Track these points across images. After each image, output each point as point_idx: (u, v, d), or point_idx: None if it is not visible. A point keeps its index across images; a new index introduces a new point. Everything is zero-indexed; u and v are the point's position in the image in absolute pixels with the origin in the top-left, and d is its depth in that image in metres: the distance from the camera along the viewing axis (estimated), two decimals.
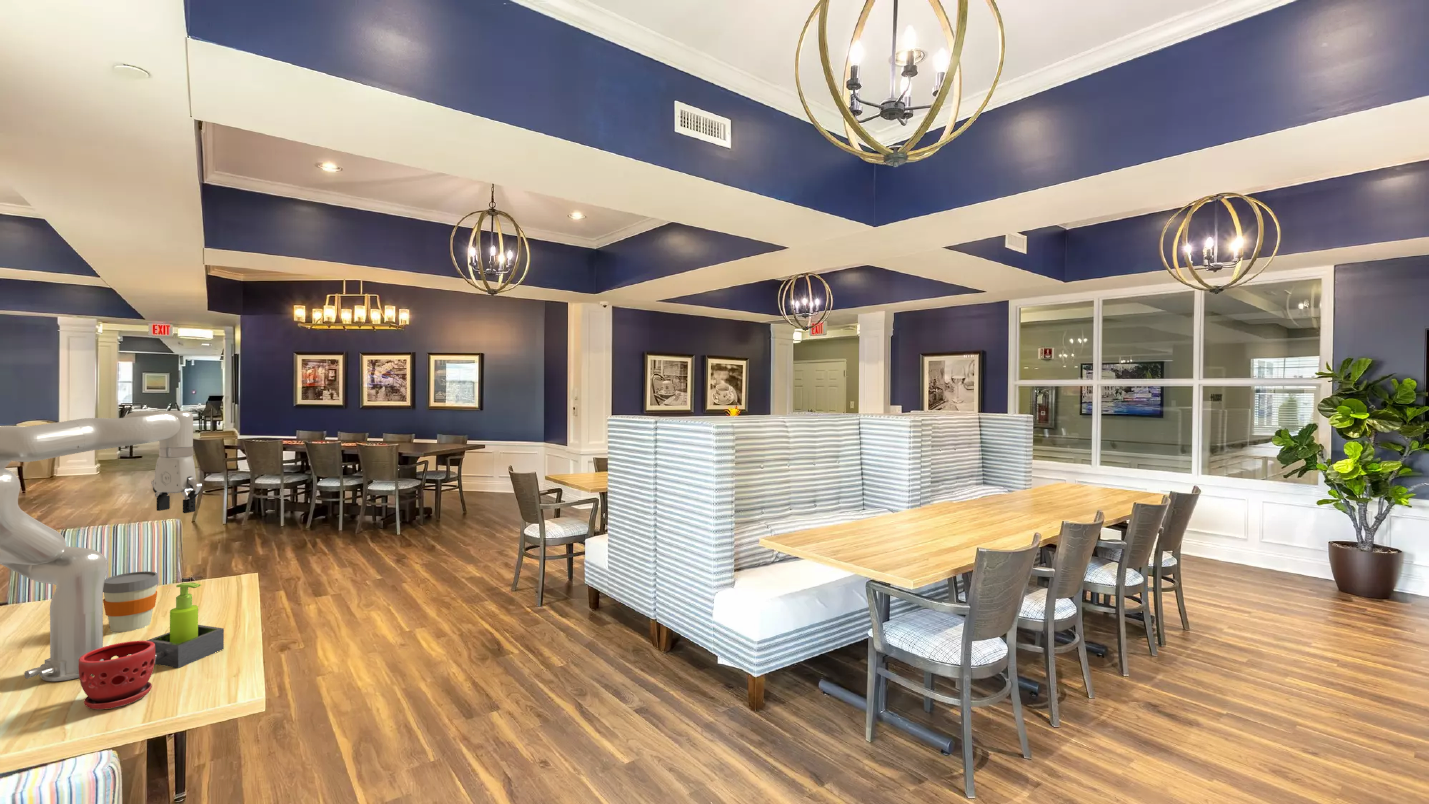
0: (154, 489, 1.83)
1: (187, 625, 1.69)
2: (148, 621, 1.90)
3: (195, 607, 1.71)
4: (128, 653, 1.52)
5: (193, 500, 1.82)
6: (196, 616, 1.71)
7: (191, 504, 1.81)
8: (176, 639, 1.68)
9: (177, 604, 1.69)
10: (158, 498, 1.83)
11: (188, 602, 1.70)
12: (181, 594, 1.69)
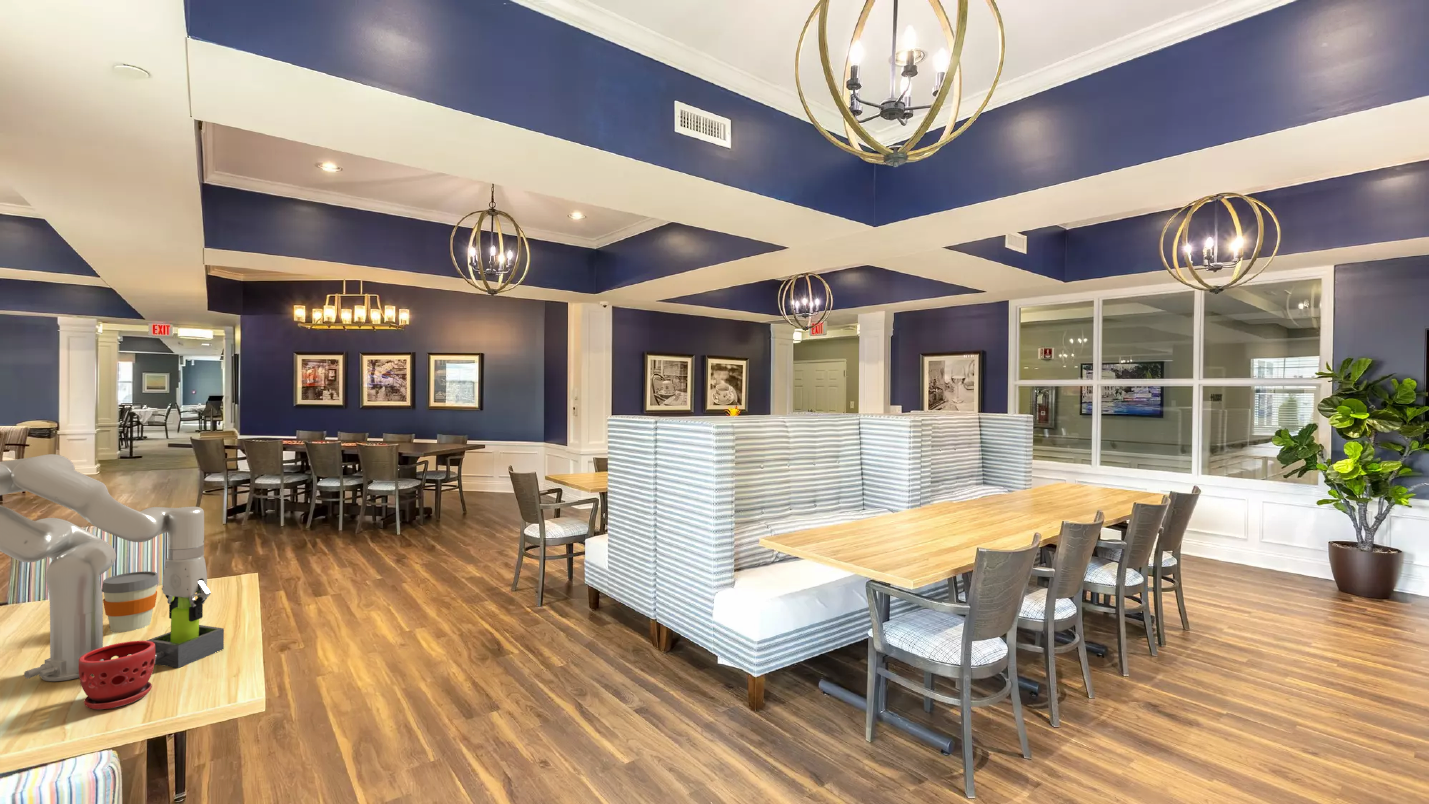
0: (166, 595, 1.70)
1: (188, 625, 1.68)
2: (148, 621, 1.90)
3: None
4: (128, 653, 1.52)
5: (200, 606, 1.70)
6: None
7: (198, 611, 1.69)
8: (177, 639, 1.68)
9: (179, 604, 1.68)
10: (171, 605, 1.70)
11: None
12: None
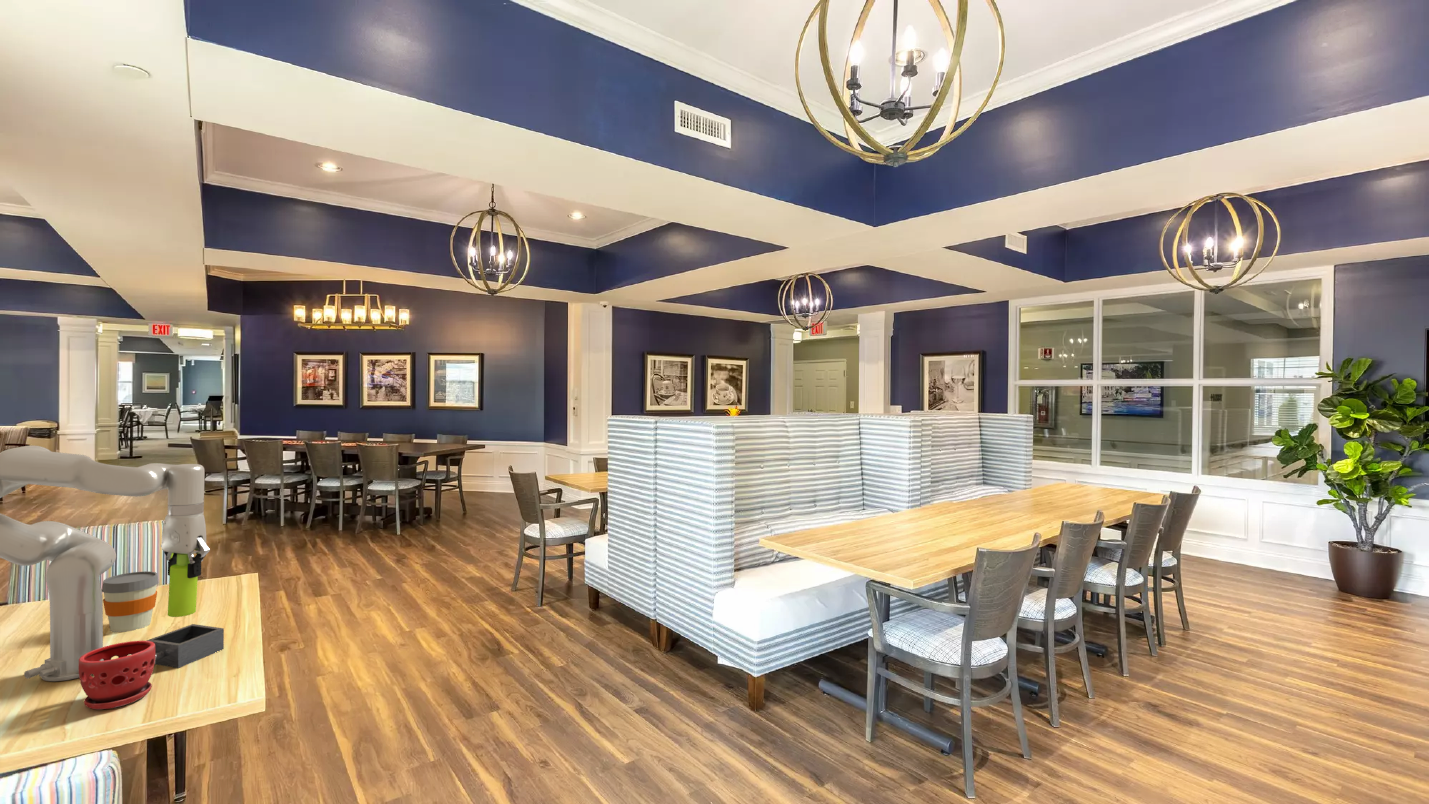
0: (165, 552, 1.70)
1: (186, 582, 1.68)
2: (148, 621, 1.90)
3: None
4: (128, 653, 1.52)
5: (199, 564, 1.69)
6: None
7: (196, 568, 1.69)
8: (175, 595, 1.67)
9: (178, 560, 1.68)
10: (169, 562, 1.69)
11: None
12: None
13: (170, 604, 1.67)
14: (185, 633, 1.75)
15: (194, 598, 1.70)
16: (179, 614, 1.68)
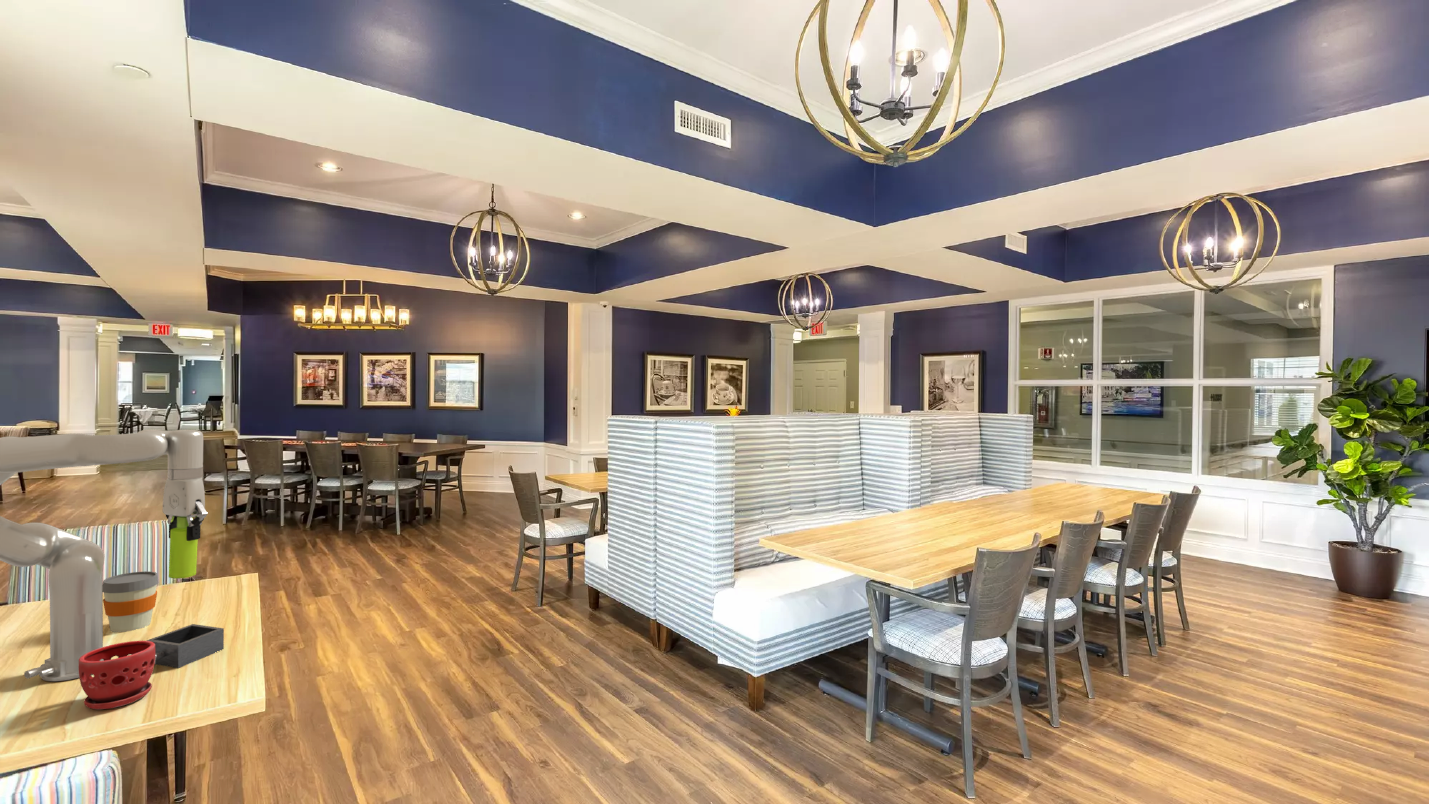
0: (167, 515, 1.74)
1: (186, 544, 1.72)
2: (148, 621, 1.90)
3: None
4: (128, 653, 1.52)
5: (197, 527, 1.73)
6: None
7: (195, 531, 1.73)
8: (175, 557, 1.71)
9: (178, 523, 1.72)
10: (170, 525, 1.73)
11: None
12: None
13: (170, 566, 1.71)
14: (185, 633, 1.75)
15: (194, 561, 1.74)
16: (179, 576, 1.72)
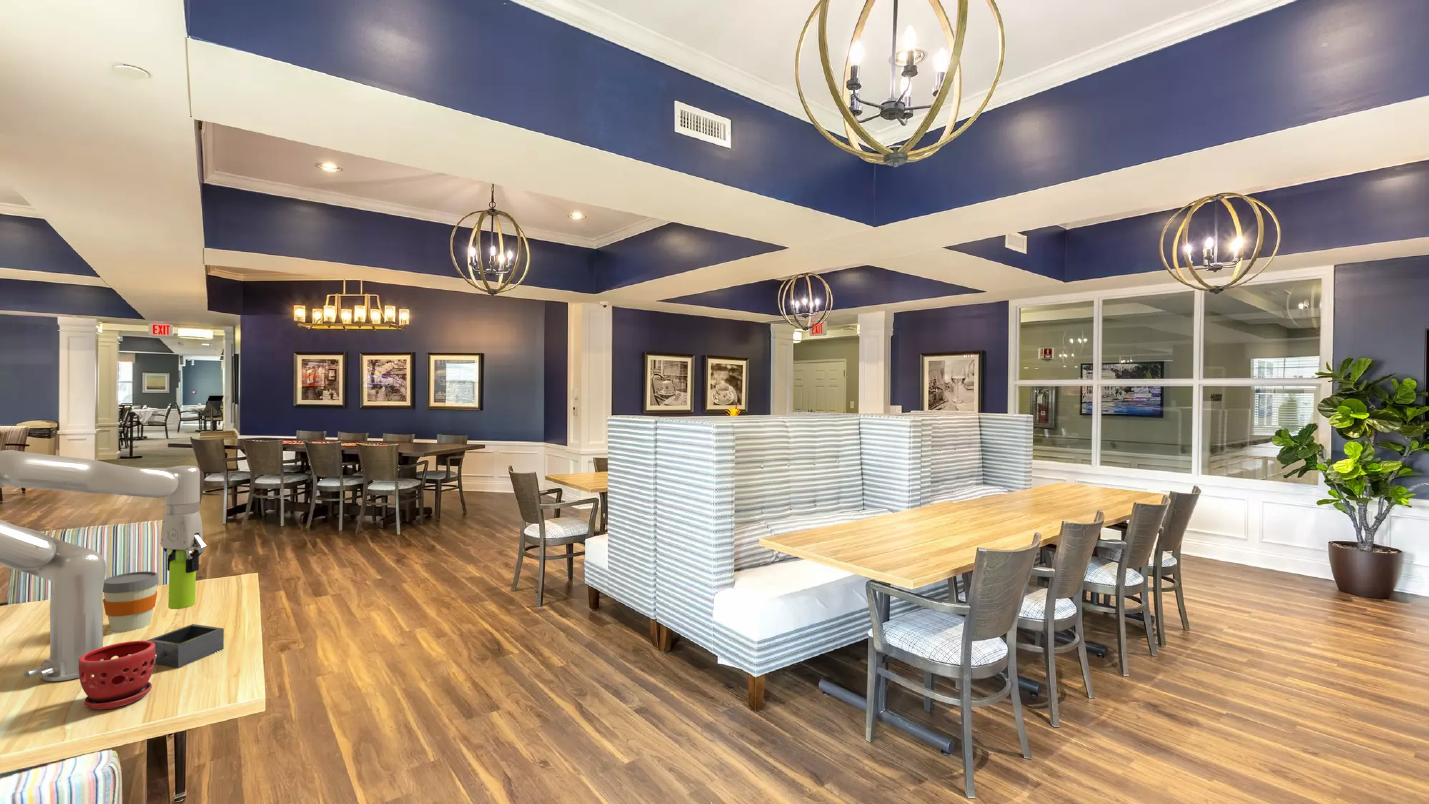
0: (165, 549, 1.81)
1: (185, 576, 1.79)
2: (148, 621, 1.90)
3: None
4: (128, 653, 1.52)
5: (196, 559, 1.80)
6: None
7: (194, 563, 1.79)
8: (174, 589, 1.78)
9: (177, 556, 1.79)
10: (169, 558, 1.80)
11: None
12: None
13: (170, 597, 1.78)
14: (185, 633, 1.75)
15: (193, 591, 1.81)
16: (179, 606, 1.78)
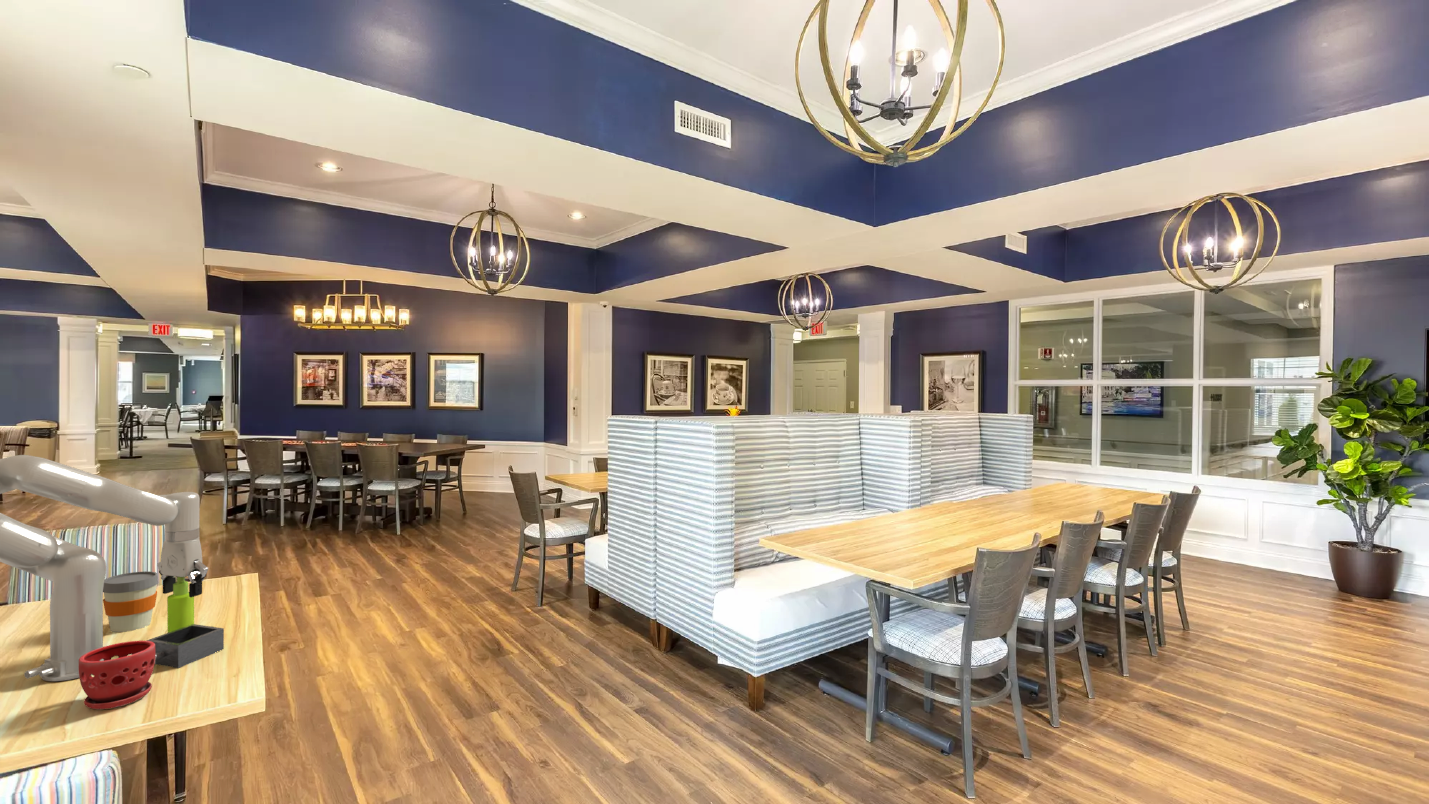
0: (160, 571, 1.81)
1: (183, 610, 1.79)
2: (148, 621, 1.90)
3: None
4: (128, 653, 1.52)
5: (200, 583, 1.80)
6: (192, 602, 1.81)
7: (198, 587, 1.79)
8: (173, 623, 1.78)
9: (174, 591, 1.79)
10: (164, 581, 1.80)
11: (184, 589, 1.80)
12: (178, 581, 1.80)
13: None
14: (185, 633, 1.75)
15: None
16: None
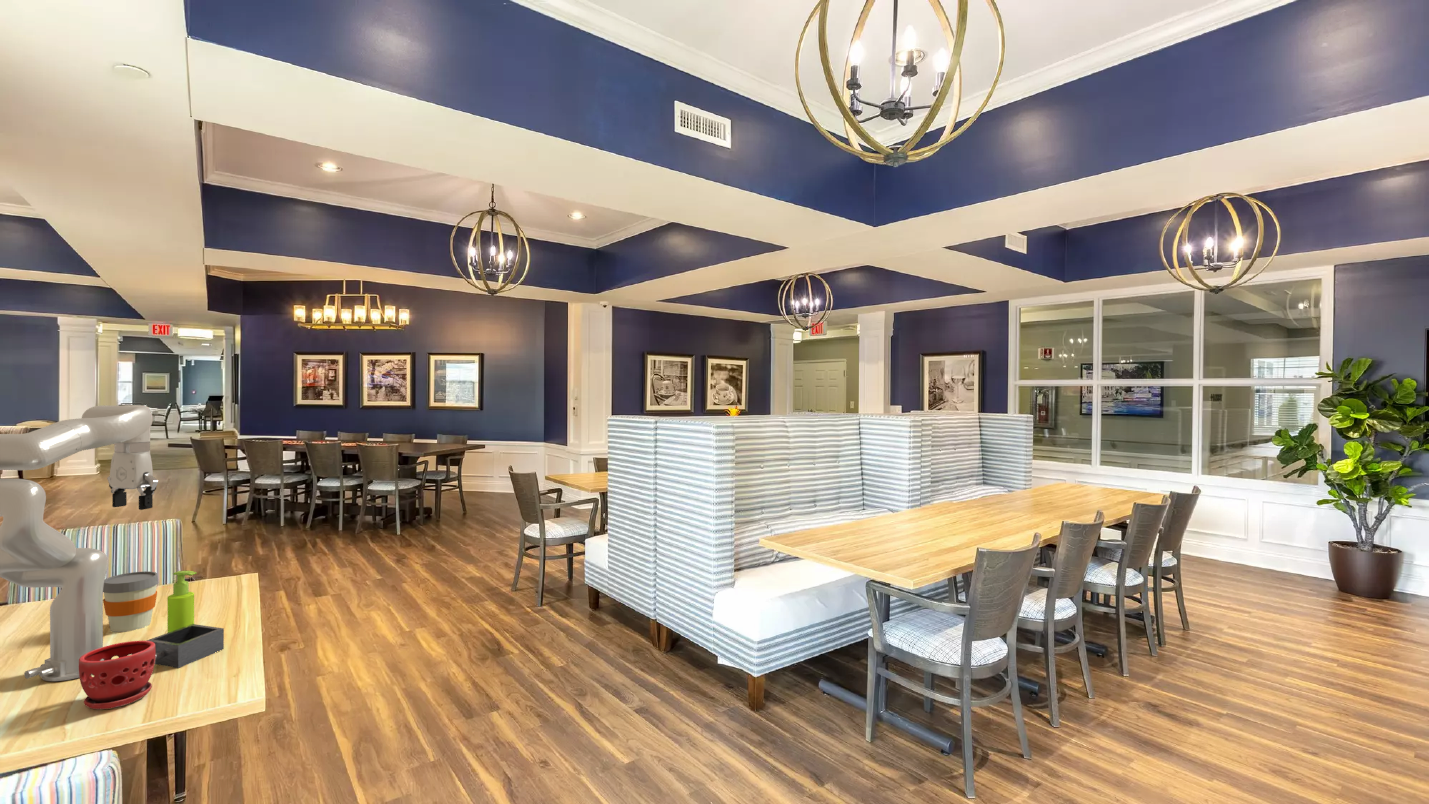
0: (110, 485, 1.79)
1: (183, 610, 1.79)
2: (148, 621, 1.90)
3: (191, 594, 1.81)
4: (128, 653, 1.52)
5: (150, 496, 1.78)
6: (192, 602, 1.81)
7: (147, 500, 1.78)
8: (173, 623, 1.78)
9: (174, 591, 1.79)
10: (114, 494, 1.79)
11: (185, 589, 1.80)
12: (178, 581, 1.79)
13: None
14: (185, 633, 1.75)
15: None
16: None
